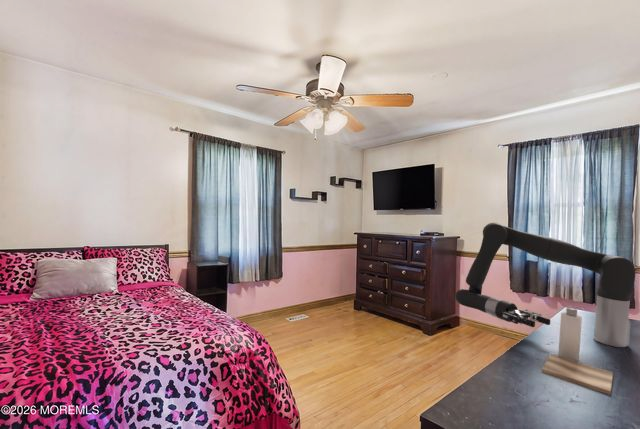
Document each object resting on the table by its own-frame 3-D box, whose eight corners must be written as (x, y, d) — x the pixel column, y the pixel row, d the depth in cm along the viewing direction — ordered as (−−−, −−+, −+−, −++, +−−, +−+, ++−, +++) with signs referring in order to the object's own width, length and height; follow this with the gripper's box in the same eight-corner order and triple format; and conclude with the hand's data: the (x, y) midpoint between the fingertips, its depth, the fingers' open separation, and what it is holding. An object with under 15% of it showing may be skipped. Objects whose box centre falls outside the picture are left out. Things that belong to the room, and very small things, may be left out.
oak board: (550, 356, 104) (551, 353, 104) (612, 375, 93) (613, 372, 93) (541, 371, 93) (542, 368, 93) (610, 395, 83) (610, 391, 83)
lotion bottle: (569, 353, 108) (572, 307, 107) (583, 361, 102) (586, 312, 102) (554, 352, 107) (557, 306, 107) (567, 360, 102) (571, 311, 102)
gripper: (488, 301, 125) (530, 314, 110) (513, 298, 131) (555, 311, 116) (487, 319, 125) (528, 335, 110) (511, 316, 131) (553, 331, 116)
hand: (542, 323), depth 113 cm, fingers open, 8 cm apart
